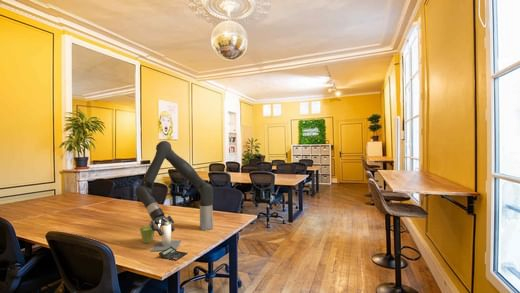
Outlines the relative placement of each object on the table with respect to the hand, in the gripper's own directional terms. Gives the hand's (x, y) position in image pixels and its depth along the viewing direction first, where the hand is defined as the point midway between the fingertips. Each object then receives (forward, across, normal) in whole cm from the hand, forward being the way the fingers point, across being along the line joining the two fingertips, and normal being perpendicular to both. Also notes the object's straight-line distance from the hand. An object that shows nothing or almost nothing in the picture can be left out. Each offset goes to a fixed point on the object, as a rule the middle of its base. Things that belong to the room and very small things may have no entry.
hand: (168, 232), depth 145 cm
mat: (+5, 0, +7) cm, 8 cm away
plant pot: (-7, 0, +19) cm, 20 cm away
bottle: (+4, 0, +6) cm, 8 cm away
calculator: (+15, -7, -3) cm, 17 cm away
